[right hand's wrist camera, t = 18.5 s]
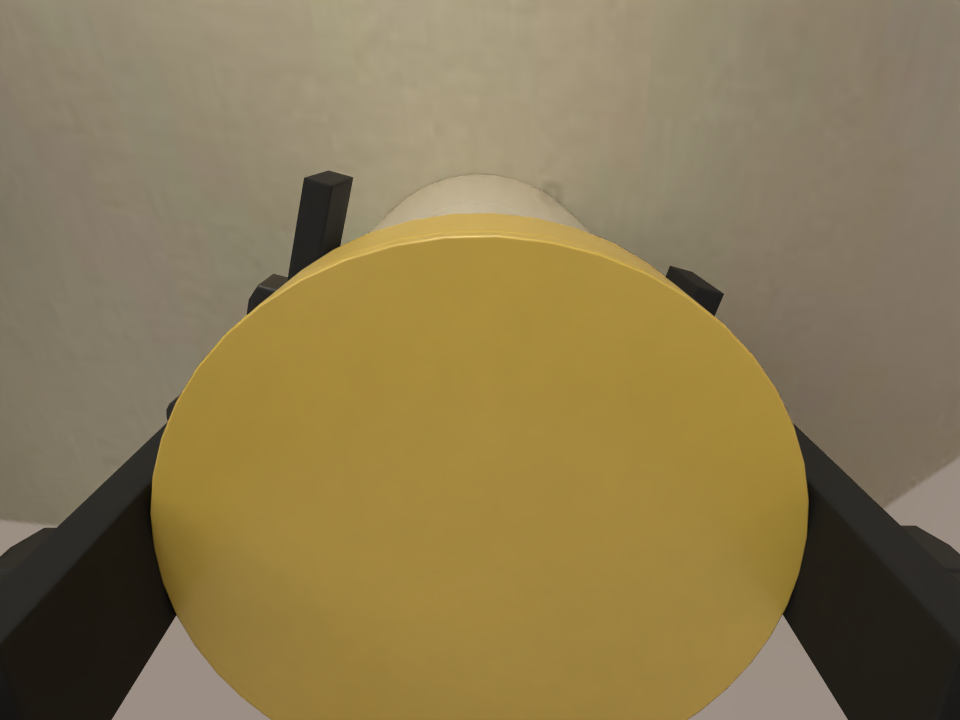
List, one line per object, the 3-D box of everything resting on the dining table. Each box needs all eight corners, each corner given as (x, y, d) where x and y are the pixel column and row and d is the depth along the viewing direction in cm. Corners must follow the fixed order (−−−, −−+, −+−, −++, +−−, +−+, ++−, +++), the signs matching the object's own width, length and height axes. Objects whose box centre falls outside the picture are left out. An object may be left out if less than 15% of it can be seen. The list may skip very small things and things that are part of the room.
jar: (615, 178, 24) (834, 264, 9) (589, 416, 27) (716, 747, 13) (351, 169, 23) (142, 241, 9) (361, 409, 27) (225, 736, 13)
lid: (91, 426, 12) (5, 493, 10) (564, 74, 10) (588, 60, 8) (425, 747, 15) (417, 850, 13) (838, 539, 13) (910, 623, 11)
